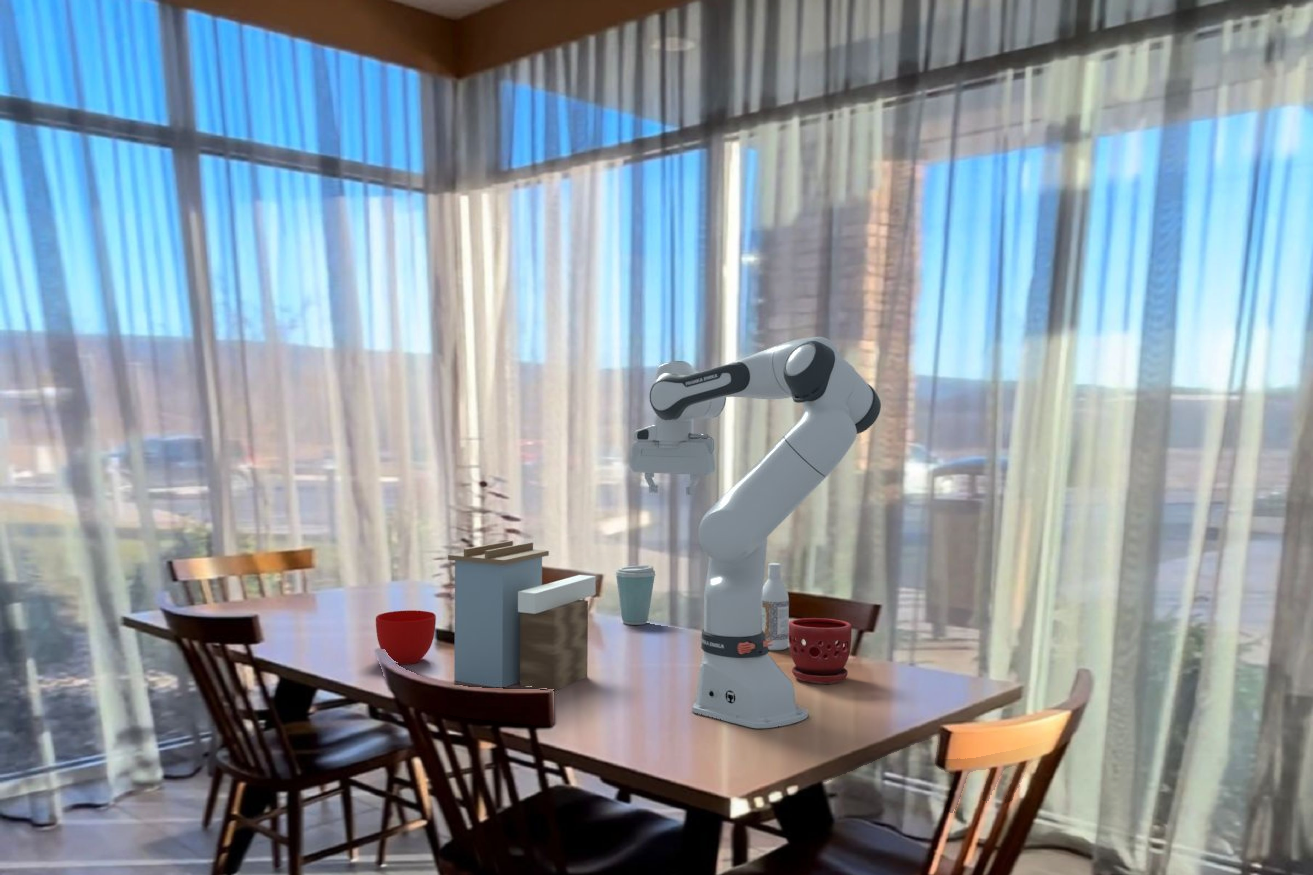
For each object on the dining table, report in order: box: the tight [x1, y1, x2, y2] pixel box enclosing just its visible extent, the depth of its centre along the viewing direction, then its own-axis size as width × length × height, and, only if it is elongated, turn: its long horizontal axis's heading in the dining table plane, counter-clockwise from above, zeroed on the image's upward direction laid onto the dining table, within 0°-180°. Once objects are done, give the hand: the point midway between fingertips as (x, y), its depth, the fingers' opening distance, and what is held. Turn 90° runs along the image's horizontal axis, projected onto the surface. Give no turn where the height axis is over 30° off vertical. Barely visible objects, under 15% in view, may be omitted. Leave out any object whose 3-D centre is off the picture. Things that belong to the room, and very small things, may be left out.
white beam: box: [518, 574, 597, 614], centre depth 210 cm, size 24×4×4 cm, turn 154°
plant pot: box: [788, 617, 853, 685], centre depth 214 cm, size 13×13×12 cm
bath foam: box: [762, 562, 790, 651], centre depth 241 cm, size 7×7×20 cm
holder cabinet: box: [447, 540, 550, 688], centre depth 212 cm, size 16×14×28 cm
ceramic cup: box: [375, 609, 437, 665], centre depth 227 cm, size 13×17×10 cm
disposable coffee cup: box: [615, 565, 656, 626], centre depth 269 cm, size 11×11×15 cm
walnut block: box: [519, 599, 589, 691], centre depth 209 cm, size 13×8×16 cm, turn 152°
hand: (671, 493), depth 232 cm, fingers open, 8 cm apart
